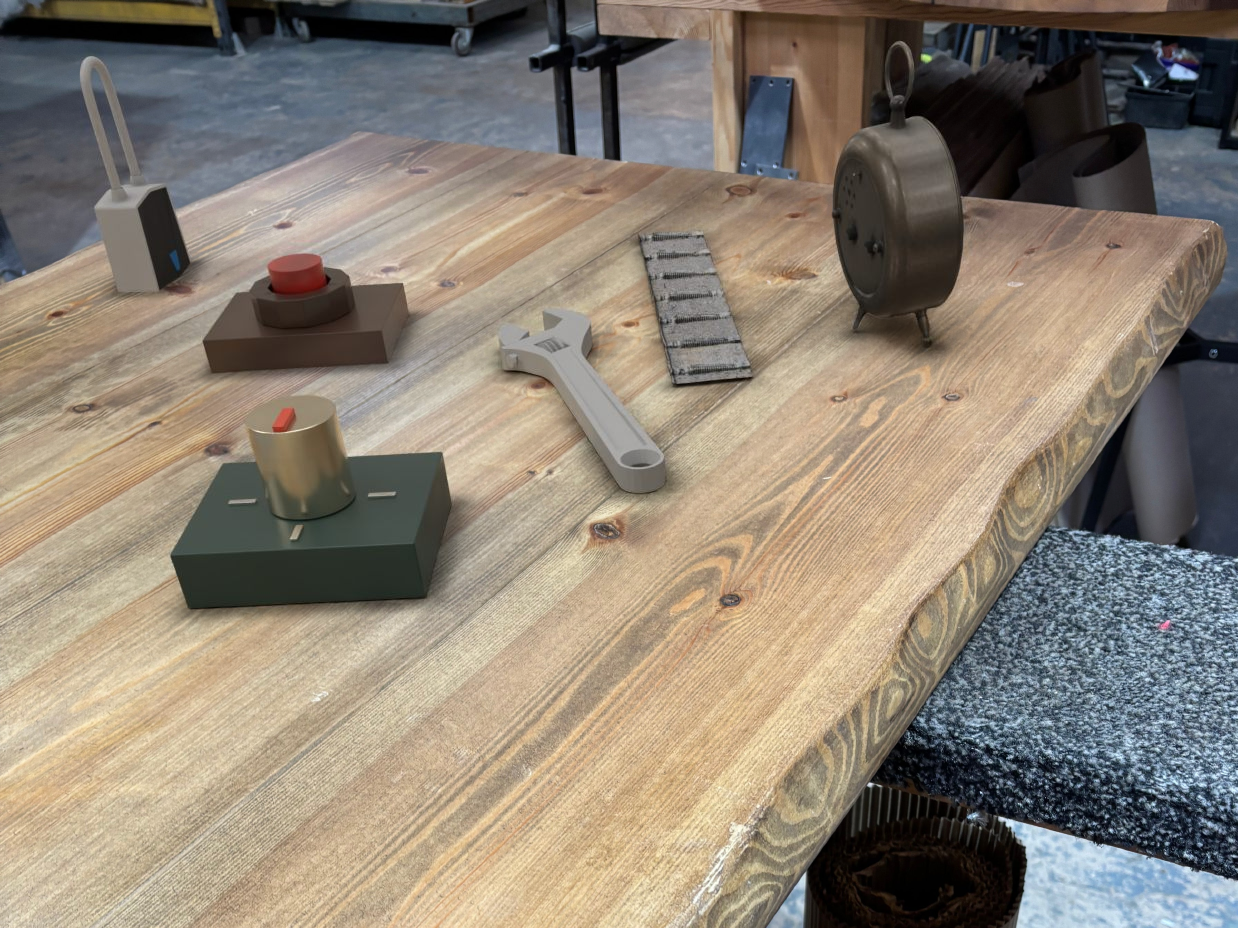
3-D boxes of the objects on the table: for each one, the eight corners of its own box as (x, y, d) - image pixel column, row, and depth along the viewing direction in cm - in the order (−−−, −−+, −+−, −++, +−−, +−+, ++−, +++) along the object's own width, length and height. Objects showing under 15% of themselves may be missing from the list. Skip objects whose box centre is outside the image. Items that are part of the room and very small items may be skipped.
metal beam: (701, 237, 105) (637, 239, 104) (701, 224, 104) (636, 227, 104) (753, 380, 83) (671, 384, 82) (753, 366, 82) (671, 370, 82)
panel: (187, 609, 66) (167, 551, 64) (237, 513, 74) (221, 459, 71) (425, 598, 66) (413, 539, 63) (452, 502, 73) (442, 448, 71)
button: (268, 300, 88) (261, 272, 87) (280, 281, 91) (274, 254, 90) (321, 297, 88) (315, 269, 87) (332, 278, 91) (326, 251, 90)
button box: (211, 373, 89) (193, 312, 86) (244, 323, 96) (228, 265, 93) (388, 363, 88) (375, 301, 86) (409, 314, 95) (398, 255, 92)
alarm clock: (959, 349, 84) (985, 53, 73) (880, 363, 83) (895, 66, 72) (889, 293, 92) (903, 19, 81) (816, 306, 91) (820, 30, 80)
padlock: (163, 291, 102) (95, 66, 92) (112, 292, 102) (39, 68, 92) (196, 261, 107) (135, 44, 96) (148, 262, 107) (81, 47, 97)
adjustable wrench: (674, 490, 73) (672, 459, 71) (559, 510, 72) (555, 479, 71) (584, 328, 91) (581, 301, 89) (491, 343, 90) (487, 316, 89)
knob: (280, 481, 69) (256, 390, 66) (363, 477, 69) (342, 386, 66) (258, 521, 66) (231, 428, 63) (345, 518, 66) (322, 424, 62)
